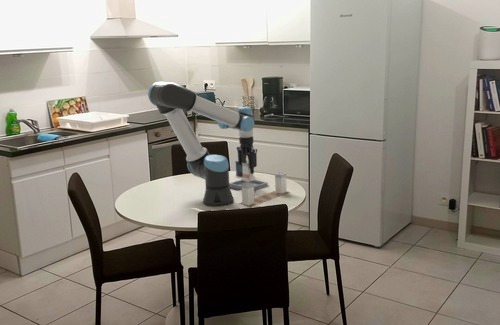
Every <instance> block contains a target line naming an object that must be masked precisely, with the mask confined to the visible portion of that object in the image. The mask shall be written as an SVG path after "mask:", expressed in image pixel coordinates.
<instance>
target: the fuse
mask: <svg viewBox="0 0 500 325" xmlns="http://www.w3.org/2000/svg"><path fill="white" fill-rule="evenodd" d="M254 198H255V190H254V184H253V183H249V182H247V183H244V184H242V190H241V199H242V200H241V202H243V204H245V205H248V206H249V205H251V204H254ZM245 205H244V206H245ZM248 206H247V207H248Z"/></svg>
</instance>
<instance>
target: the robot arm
mask: <svg viewBox="0 0 500 325" xmlns="http://www.w3.org/2000/svg"><path fill="white" fill-rule="evenodd" d="M147 96H148V97H147V98H148V100H149V102H150V103H151V104H152V105H153V106H156V108H157V110H158V112H159V113H160V115H162V116H165V117H166V120H167V121H168V123H169V125H170V127H171V129H172V130H173V132H174V134H175V136H176V138H177V139H178V141H179V143H180V145H181V147H182V149H183V150H184V152H185V154H186V157H185V160H186V162H187V164H186V166H187V169H188V171H189V173H190V174H192V175H193V176H195V177H197V178H200V179H204V181H205V191H204V195H203V198H202V204H203V205H204V206H207V207H213V208H217V207H218V208H220V207H226V206H229V205H230V206H231V205H232V204H233V203H234V202H235V200H234V196H233V194H232V191H231V188H230V187H229V183H230V173H229V170H230V169H229V168H230V167H229V166H230V165H229V160H228V158H227V157H226V156H224V155H221V154H210V153H209V150H208V148H206V147H204V146H202V144H201V142H200V140H199V139H198V137H197V135H196V133H195V131H194V129H193V127H192V125H191V123H190V122H189V120H188V118H187V116H186V114H185V112H188V113H189V112H193V113H195V114H199V115H201V116H204V117H206V118H209V119H211V120H213V121H216V122H217V125H218V127H219V129H222V130H223V129H226V130H228V129H232V130H237V131H238V136H239V139H238V140H239V146H237V147H236V151H237V161H238V163H239V165H241V166H242V163H244V162H246V160H247V161H249V166H250V167H249V180H252V179H254V180H255V178H254V177H253V176H254V173H255V170H254V168H256V167H257V166H258V165H257V164H258V163H257V161H258V160H257V153H258V149H257V148H254V145H253V144H254V126H255V121H254V118H253V116H254V115H253V108H252V107H250V106H241V107H237V108H238V109H237V111H234V110H232V109H230V108H227V107H225V106H223V105H220V104H218V103H215V102H213V101H211V100H209V99H206V98H204V97H201V96H199V95H197V93H196V92H195V91H193V90H192V89H188V87H184V86H183V85H181V84H179V83H176V82H174V81H172V82H170V81H165V80H163V81H156V82H154V83H153V84H152V85H151V86H150V87H149V89H148V92H147ZM184 111H185V112H184ZM242 172H243V167H242Z"/></svg>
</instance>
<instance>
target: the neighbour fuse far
mask: <svg viewBox="0 0 500 325" xmlns="http://www.w3.org/2000/svg"><path fill="white" fill-rule="evenodd" d="M274 180H275V181H274V182H275V185H274V187H275V191H276V193H280V194H283V193H285V192H288V191H287V172H280V171H279V172H277V173H274Z"/></svg>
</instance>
